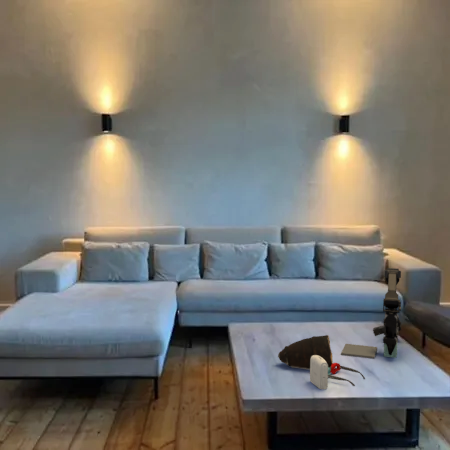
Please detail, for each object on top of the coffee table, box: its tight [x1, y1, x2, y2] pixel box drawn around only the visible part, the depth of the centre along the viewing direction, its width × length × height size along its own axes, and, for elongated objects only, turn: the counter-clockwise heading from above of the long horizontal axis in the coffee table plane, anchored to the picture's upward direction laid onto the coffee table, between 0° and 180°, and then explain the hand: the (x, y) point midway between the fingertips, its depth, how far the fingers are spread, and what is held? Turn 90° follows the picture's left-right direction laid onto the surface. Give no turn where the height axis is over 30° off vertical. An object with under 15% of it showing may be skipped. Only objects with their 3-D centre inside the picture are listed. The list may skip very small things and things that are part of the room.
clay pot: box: [277, 334, 334, 371], centre depth 242 cm, size 15×15×25 cm
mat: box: [340, 343, 378, 360], centre depth 263 cm, size 16×16×1 cm
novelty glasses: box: [328, 362, 366, 387], centre depth 227 cm, size 14×15×5 cm
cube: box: [383, 343, 398, 359], centre depth 258 cm, size 6×6×6 cm
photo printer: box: [309, 355, 329, 390], centre depth 220 cm, size 10×4×12 cm, turn 17°
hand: (390, 352), depth 258 cm, fingers closed on cube, 6 cm apart
